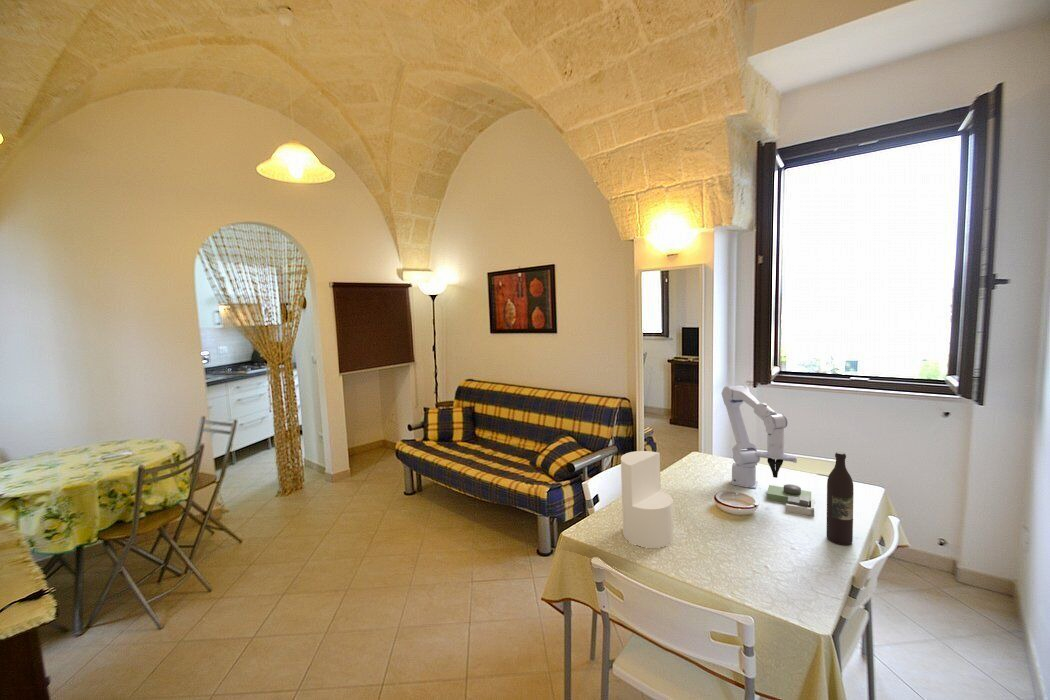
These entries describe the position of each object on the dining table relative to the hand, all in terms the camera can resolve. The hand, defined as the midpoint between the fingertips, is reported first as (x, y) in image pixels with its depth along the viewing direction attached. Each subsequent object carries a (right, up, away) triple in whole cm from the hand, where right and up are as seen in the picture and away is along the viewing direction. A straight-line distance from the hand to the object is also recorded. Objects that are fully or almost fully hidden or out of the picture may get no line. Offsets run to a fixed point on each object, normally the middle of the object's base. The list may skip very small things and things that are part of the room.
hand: (775, 476), depth 173 cm
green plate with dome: (+5, -10, -2) cm, 11 cm away
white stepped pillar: (-58, -15, -21) cm, 63 cm away
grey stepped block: (+5, -10, -7) cm, 13 cm away
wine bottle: (+4, -13, -30) cm, 33 cm away
